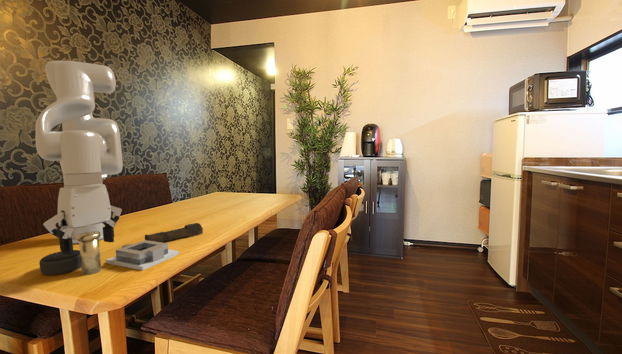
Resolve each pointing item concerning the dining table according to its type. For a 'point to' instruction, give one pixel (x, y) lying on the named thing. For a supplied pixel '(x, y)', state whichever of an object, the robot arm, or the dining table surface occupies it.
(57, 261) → the smart speaker
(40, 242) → the dining table surface
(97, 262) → the brass pin
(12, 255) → the dining table surface
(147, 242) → the grey holder fixture
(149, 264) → the board
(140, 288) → the dining table surface
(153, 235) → the hand tool
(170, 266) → the dining table surface
